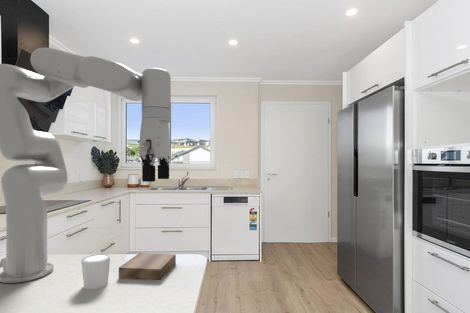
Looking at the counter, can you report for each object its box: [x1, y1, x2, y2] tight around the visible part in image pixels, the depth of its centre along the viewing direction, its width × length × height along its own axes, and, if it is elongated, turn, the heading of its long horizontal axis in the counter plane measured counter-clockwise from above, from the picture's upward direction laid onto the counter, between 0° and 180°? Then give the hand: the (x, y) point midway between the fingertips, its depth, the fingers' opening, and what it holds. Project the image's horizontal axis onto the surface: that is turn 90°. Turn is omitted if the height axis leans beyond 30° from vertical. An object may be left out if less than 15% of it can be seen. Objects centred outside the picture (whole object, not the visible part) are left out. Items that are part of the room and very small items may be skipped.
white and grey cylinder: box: [80, 253, 111, 290], centre depth 73 cm, size 7×7×7 cm
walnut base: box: [118, 252, 177, 281], centre depth 82 cm, size 12×12×3 cm
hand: (156, 180), depth 74 cm, fingers open, 9 cm apart
